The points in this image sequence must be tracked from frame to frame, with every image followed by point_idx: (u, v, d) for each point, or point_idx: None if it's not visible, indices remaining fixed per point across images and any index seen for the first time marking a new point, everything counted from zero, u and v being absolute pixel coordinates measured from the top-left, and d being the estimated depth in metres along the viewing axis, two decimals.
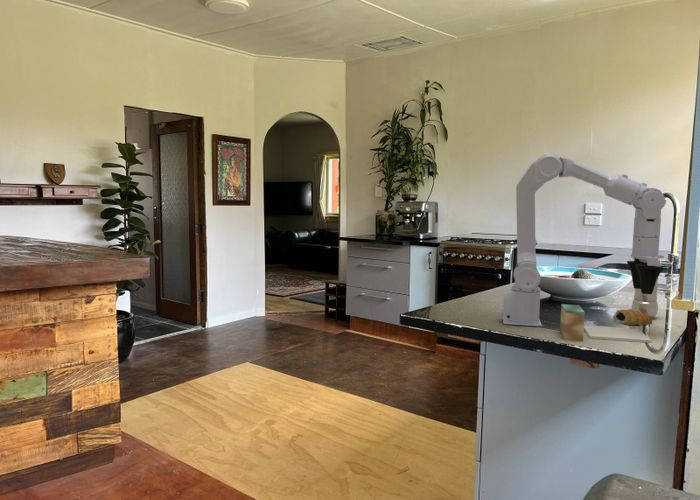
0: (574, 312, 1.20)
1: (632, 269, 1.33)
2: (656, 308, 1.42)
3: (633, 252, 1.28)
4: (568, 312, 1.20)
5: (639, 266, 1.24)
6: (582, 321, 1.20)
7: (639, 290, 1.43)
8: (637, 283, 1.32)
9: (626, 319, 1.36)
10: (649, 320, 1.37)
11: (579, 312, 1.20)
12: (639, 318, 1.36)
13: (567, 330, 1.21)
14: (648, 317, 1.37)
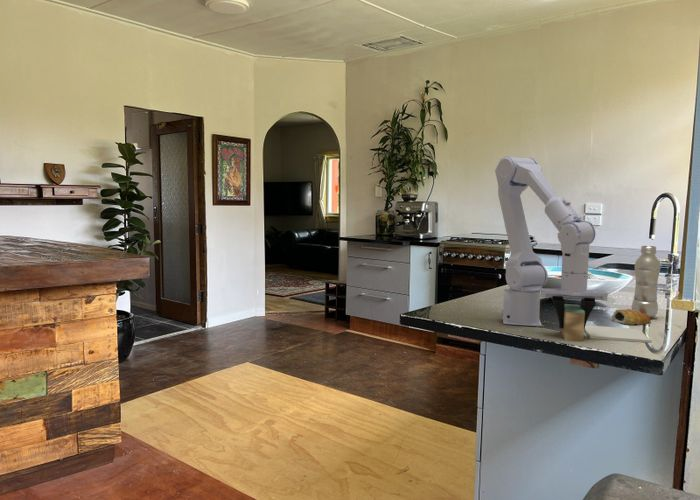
0: (574, 312, 1.20)
1: (581, 307, 1.25)
2: (656, 308, 1.42)
3: None
4: (568, 312, 1.20)
5: None
6: (582, 321, 1.20)
7: (639, 290, 1.43)
8: None
9: (625, 319, 1.36)
10: (648, 320, 1.37)
11: (579, 312, 1.20)
12: (638, 317, 1.36)
13: (567, 330, 1.21)
14: (647, 317, 1.37)
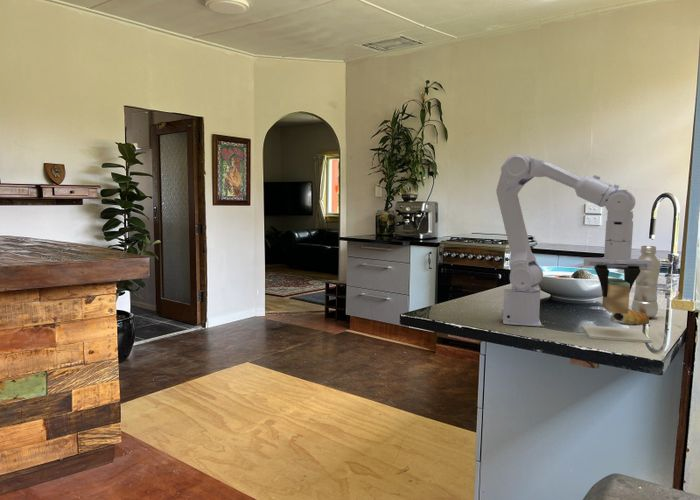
0: (619, 284, 1.20)
1: (624, 276, 1.25)
2: (656, 308, 1.42)
3: None
4: (613, 284, 1.20)
5: None
6: (627, 293, 1.20)
7: (639, 290, 1.43)
8: None
9: (624, 319, 1.36)
10: (646, 320, 1.38)
11: (624, 284, 1.20)
12: (637, 317, 1.36)
13: (612, 303, 1.21)
14: (645, 317, 1.38)
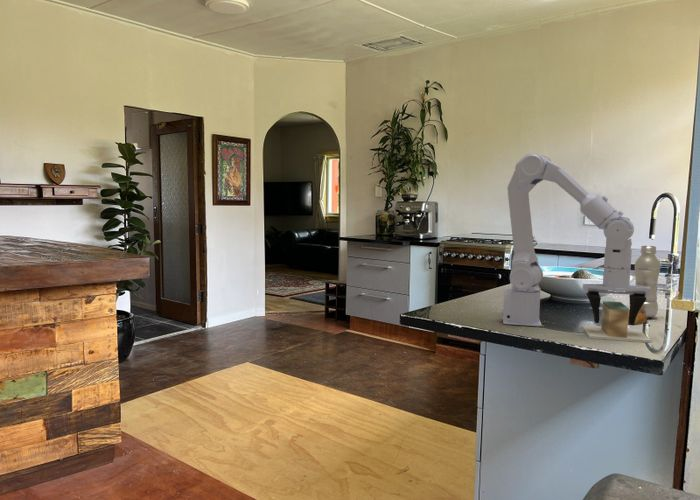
0: (618, 309, 1.21)
1: None
2: (656, 308, 1.42)
3: None
4: (612, 309, 1.21)
5: None
6: (626, 317, 1.20)
7: None
8: (629, 318, 1.25)
9: None
10: (644, 319, 1.38)
11: (623, 309, 1.20)
12: None
13: (611, 327, 1.21)
14: (643, 316, 1.38)
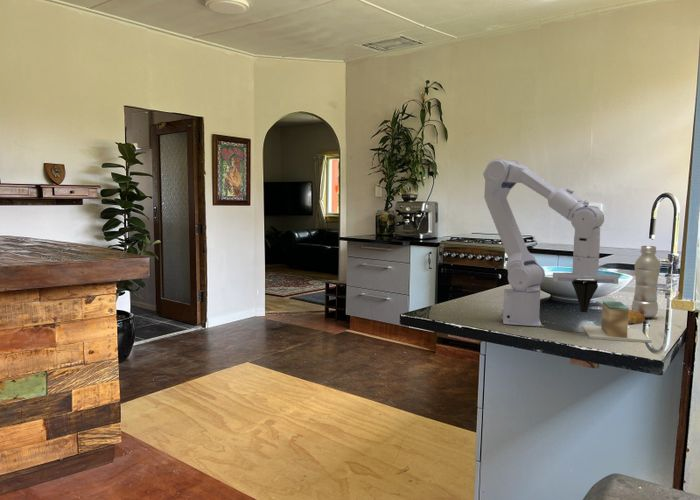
0: (618, 309, 1.21)
1: None
2: (656, 308, 1.42)
3: None
4: (612, 309, 1.21)
5: None
6: (626, 317, 1.20)
7: (639, 290, 1.43)
8: None
9: None
10: (642, 319, 1.39)
11: (623, 309, 1.20)
12: (633, 316, 1.37)
13: (611, 327, 1.21)
14: (641, 316, 1.39)
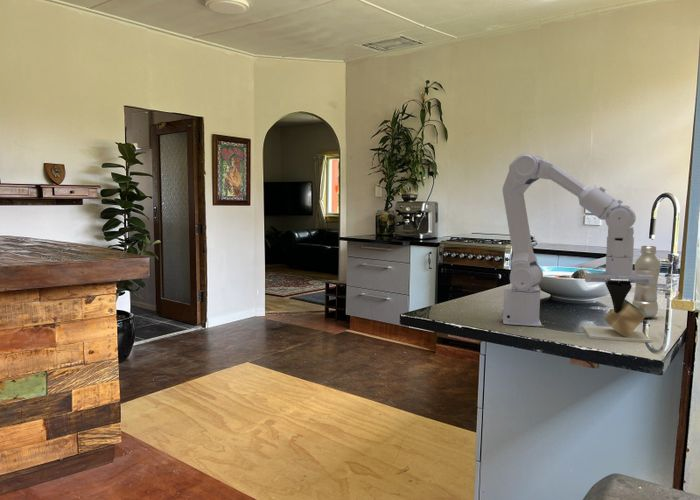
0: (638, 310, 1.20)
1: None
2: (656, 308, 1.42)
3: None
4: (632, 306, 1.20)
5: None
6: (639, 321, 1.20)
7: (639, 290, 1.43)
8: None
9: None
10: None
11: (642, 312, 1.19)
12: None
13: (620, 321, 1.21)
14: None
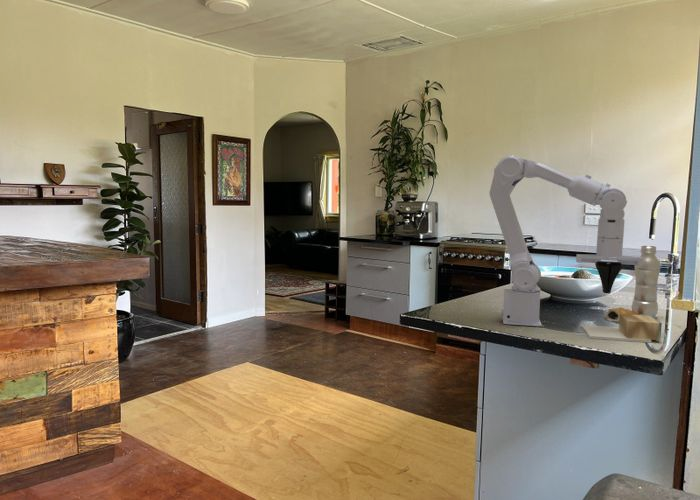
0: (659, 330, 1.19)
1: None
2: (656, 308, 1.42)
3: None
4: (659, 325, 1.19)
5: None
6: (649, 337, 1.20)
7: (639, 290, 1.43)
8: None
9: None
10: None
11: (659, 335, 1.19)
12: None
13: (638, 323, 1.20)
14: None
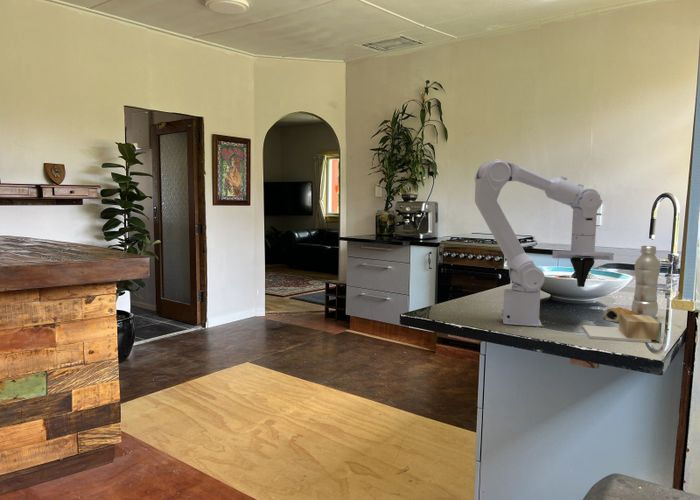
0: (659, 330, 1.19)
1: None
2: (656, 308, 1.42)
3: None
4: (659, 325, 1.19)
5: None
6: (649, 337, 1.20)
7: (639, 290, 1.43)
8: None
9: (618, 317, 1.38)
10: None
11: (659, 335, 1.19)
12: None
13: (638, 323, 1.20)
14: None
